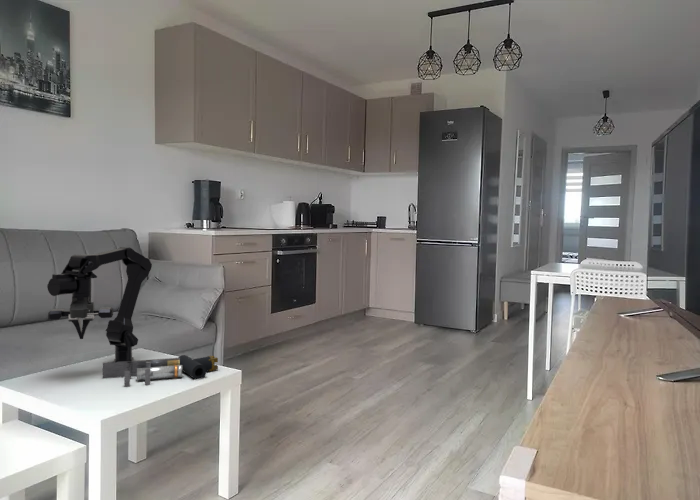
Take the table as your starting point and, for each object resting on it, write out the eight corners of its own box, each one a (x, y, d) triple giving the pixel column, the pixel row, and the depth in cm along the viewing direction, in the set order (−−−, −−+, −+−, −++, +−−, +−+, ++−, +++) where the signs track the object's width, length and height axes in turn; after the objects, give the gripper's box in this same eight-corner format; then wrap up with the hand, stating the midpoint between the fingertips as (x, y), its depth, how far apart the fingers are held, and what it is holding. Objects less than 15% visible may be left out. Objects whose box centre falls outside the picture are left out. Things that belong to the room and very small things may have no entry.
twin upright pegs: (126, 377, 167) (126, 362, 167) (150, 376, 170) (150, 361, 170) (124, 386, 158) (124, 370, 158) (150, 384, 161) (150, 369, 161)
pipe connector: (206, 350, 185) (224, 359, 174) (206, 365, 186) (224, 375, 174) (175, 355, 178) (191, 365, 167) (175, 370, 179) (192, 381, 167)
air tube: (136, 379, 162) (136, 366, 164) (136, 382, 165) (137, 369, 167) (182, 375, 167) (182, 363, 169) (181, 378, 171) (181, 366, 172)
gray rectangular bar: (102, 377, 167) (102, 362, 167) (179, 371, 175) (179, 357, 175) (101, 381, 163) (101, 366, 163) (179, 375, 171) (180, 360, 171)
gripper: (44, 296, 158) (44, 346, 159) (110, 295, 164) (110, 342, 165) (51, 291, 168) (51, 338, 169) (113, 290, 175) (113, 335, 175)
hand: (81, 338), depth 169 cm, fingers closed
